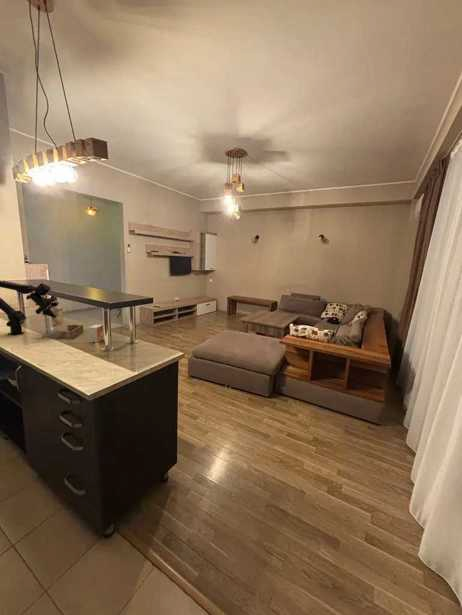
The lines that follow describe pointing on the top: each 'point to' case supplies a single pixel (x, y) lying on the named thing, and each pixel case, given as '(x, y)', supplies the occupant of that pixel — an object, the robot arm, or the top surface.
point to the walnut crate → (70, 332)
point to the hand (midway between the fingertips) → (57, 316)
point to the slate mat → (50, 334)
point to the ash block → (57, 316)
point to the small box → (95, 333)
